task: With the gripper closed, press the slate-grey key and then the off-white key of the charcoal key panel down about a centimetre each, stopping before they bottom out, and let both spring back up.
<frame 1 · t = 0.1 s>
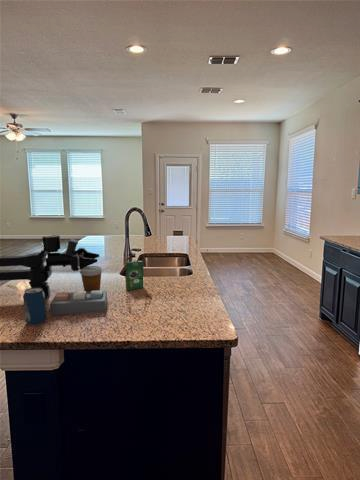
hand: (98, 257, 138), 17 cm above the countertop, tool horizontal, fingers open, 9 cm apart
disposable coffee cup: (92, 294, 140), on the countertop
pale key: (79, 298, 125), point 4 cm above the countertop, slide at 0.0 cm
soda can: (36, 322, 112), on the countertop
key panel: (80, 307, 125), on the countertop
slate key: (96, 297, 126), point 4 cm above the countertop, slide at 0.0 cm
rust key: (62, 299, 124), point 4 cm above the countertop, slide at 0.0 cm
coffee box: (135, 288, 148), on the countertop
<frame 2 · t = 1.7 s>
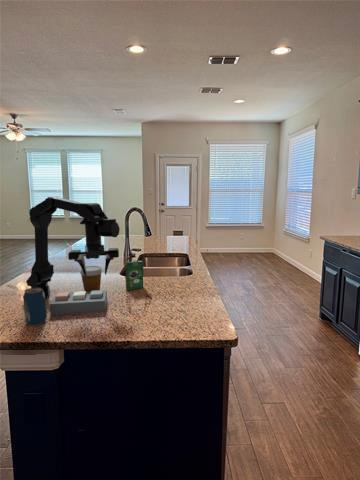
hand: (95, 274, 124), 13 cm above the countertop, tool pointing down, fingers open, 7 cm apart
nothing on the countertop moved.
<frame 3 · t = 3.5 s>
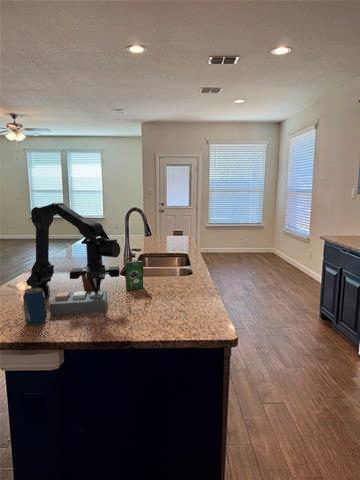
hand: (96, 293, 125), 6 cm above the countertop, tool pointing down, fingers closed, pressing on slate key
slate key: (96, 298, 126), point 4 cm above the countertop, slide at 0.4 cm, touching gripper
everything else where it was.
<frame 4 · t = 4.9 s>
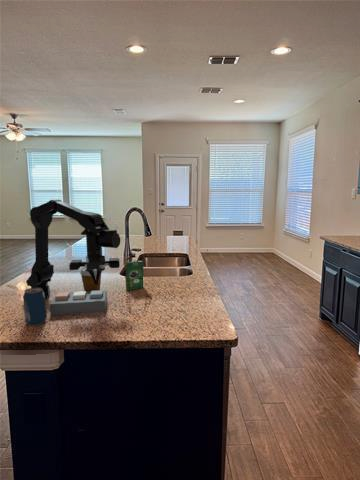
hand: (96, 284, 125), 9 cm above the countertop, tool pointing down, fingers closed
slate key: (96, 297, 126), point 4 cm above the countertop, slide at 0.0 cm
everything else where it was.
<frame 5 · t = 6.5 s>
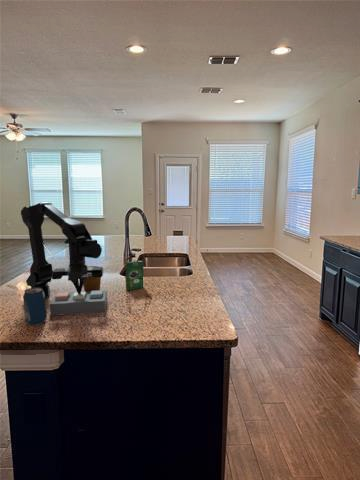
hand: (79, 293, 124), 6 cm above the countertop, tool pointing down, fingers closed, pressing on pale key
pale key: (79, 298, 125), point 4 cm above the countertop, slide at 0.2 cm, touching gripper
everything else where it was.
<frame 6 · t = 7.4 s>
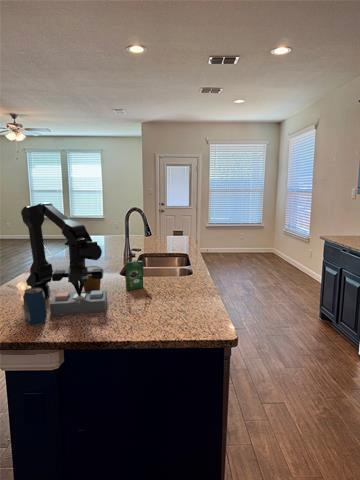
hand: (79, 295, 124), 5 cm above the countertop, tool pointing down, fingers closed, pressing on pale key
pale key: (80, 300, 125), point 3 cm above the countertop, slide at 0.9 cm, touching gripper
everything else where it was.
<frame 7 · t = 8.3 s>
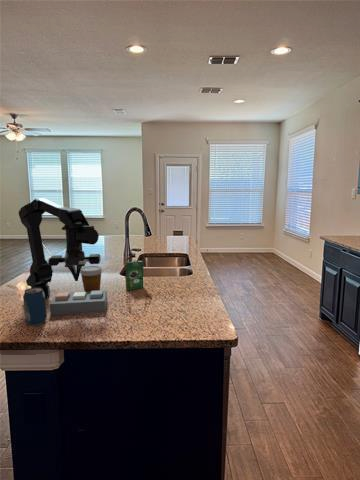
hand: (76, 280, 124), 11 cm above the countertop, tool pointing down, fingers closed
pale key: (79, 298, 125), point 4 cm above the countertop, slide at 0.3 cm
everything else where it was.
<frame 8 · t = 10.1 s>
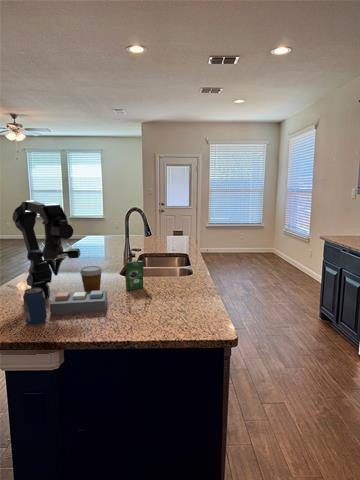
hand: (56, 275, 124), 13 cm above the countertop, tool pointing down, fingers closed
nothing on the countertop moved.
at the end: slate key slide at 0.0 cm; pale key slide at 0.3 cm; soda can moved 0.2 cm from its start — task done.
